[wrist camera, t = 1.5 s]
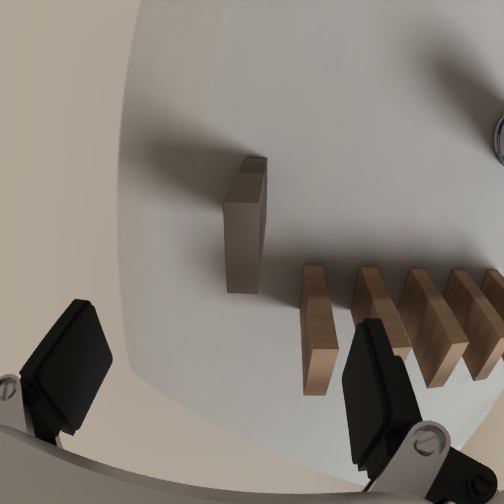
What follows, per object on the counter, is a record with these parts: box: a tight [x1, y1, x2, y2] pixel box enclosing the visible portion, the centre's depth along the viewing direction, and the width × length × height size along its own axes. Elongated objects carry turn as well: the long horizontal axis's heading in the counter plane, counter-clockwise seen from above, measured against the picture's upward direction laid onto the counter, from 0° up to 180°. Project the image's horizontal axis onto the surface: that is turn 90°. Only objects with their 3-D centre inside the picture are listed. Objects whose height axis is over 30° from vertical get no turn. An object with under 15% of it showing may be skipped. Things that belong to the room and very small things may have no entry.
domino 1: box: [223, 158, 267, 294], centre depth 19 cm, size 5×2×10 cm, turn 0°
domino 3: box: [351, 266, 411, 362], centre depth 23 cm, size 5×2×10 cm, turn 0°
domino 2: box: [300, 264, 339, 395], centre depth 23 cm, size 5×2×10 cm, turn 0°
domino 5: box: [443, 269, 504, 381], centre depth 22 cm, size 5×2×10 cm, turn 0°
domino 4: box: [397, 268, 469, 388], centre depth 23 cm, size 5×2×10 cm, turn 0°
